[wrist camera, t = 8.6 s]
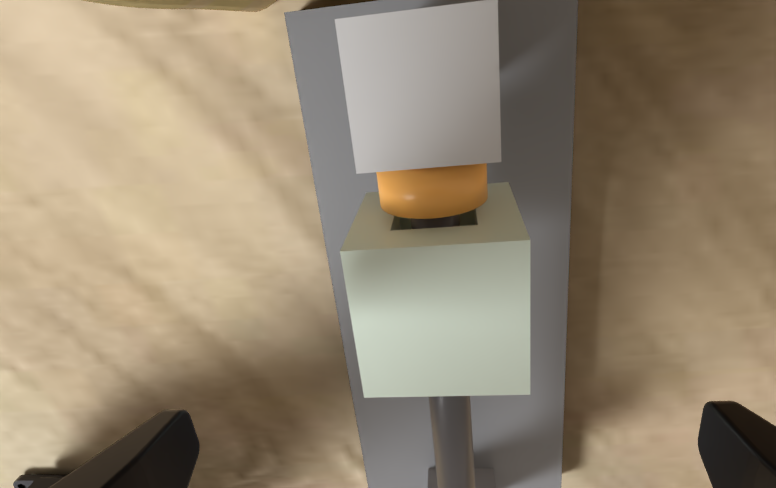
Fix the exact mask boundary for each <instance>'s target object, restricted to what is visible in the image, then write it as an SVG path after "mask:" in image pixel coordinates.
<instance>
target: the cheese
mask: <svg viewBox="0 0 776 488" xmlns="http://www.w3.org/2000/svg"><path fill="white" fill-rule="evenodd" d="M83 1H89V2H95V3H102V4H109V5H117V6H126V7H137V8H155V9H210V10H229V11H247V12H257V11H261V10H263V9H265V8H267V7H269V6H270V5H271V4H273V3H274V2H275V1H277V0H83Z"/></svg>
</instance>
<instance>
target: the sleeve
mask: <svg viewBox="0 0 776 488" xmlns="http://www.w3.org/2000/svg"><path fill="white" fill-rule="evenodd" d="M487 189H488V198H487V200H486V202H485V203H484V204H483V205H481V206H479V207H478V208H476V209H474V210H471V211H469V212H465V213H462V214H459V218H460V226H454V227H439V228H423V229H412V227H411V218H403V217H397V216H394V215H391V214H388V213H386V212H385V211H383V210H382V208H381V206H380V198H379V192H369V193H366V194H365V197H364V199H363V201H362V203H361V206H360V208H359V210H358V212H357V214H356V217H355V219H354V221H353V223H352V226H351V228H350V230H349V232H348V234H347V237H346V239H345V241H344V243H343V246H342V248H341V250H340V255H341V261H342V267H343V273H344V279H345V285H346V291H347V297H348V303H349V310H350V316H351V322H352V328H353V334H354V340H355V346H356V352H357V358H358V364H359V370H360V376H361V382H362V388H363V394H364V398H376V397H432V396H488V395H530V238H529V235H528V232H527V230H526V227H525V224H524V222H523V219H522V217H521V214H520V211H519V209H518V206H517V203H516V201H515V198H514V196H513V193H512V190H511V188H510V185H509V182H501V183H488V184H487Z"/></svg>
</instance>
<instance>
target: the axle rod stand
mask: <svg viewBox="0 0 776 488" xmlns="http://www.w3.org/2000/svg"><path fill="white" fill-rule="evenodd" d="M284 14H285V20H286V26H287V31H288V37H289V43H290V48H291V54H292V60H293V65H294V71H295V76H296V82H297V88H298V93H299V99H300V105H301V110H302V116H303V122H304V127H305V133H306V138H307V144H308V150H309V155H310V161H311V167H312V172H313V178H314V184H315V189H316V195H317V200H318V206H319V212H320V217H321V223H322V229H323V234H324V240H325V246H326V251H327V257H328V262H329V268H330V274H331V279H332V285H333V291H334V296H335V302H336V308H337V313H338V319H339V324H340V330H341V336H342V341H343V347H344V353H345V358H346V364H347V370H348V375H349V381H350V386H351V392H352V398H353V403H354V409H355V415H356V420H357V426H358V432H359V437H360V443H361V448H362V454H363V460H364V465H365V471H366V477H367V482H368V488H561V479H562V450H563V422H564V393H565V365H566V336H567V307H568V279H569V250H570V221H571V193H572V164H573V135H574V107H575V78H576V50H577V21H578V0H378V1H370V2H362V3H355V4H347V5H339V6H332V7H324V8H316V9H308V10H301V11H293V12H285V13H284ZM501 182H509V185H510V188H511V190H512V193H513V196H514V198H515V201H516V203H517V206H518V209H519V211H520V214H521V217H522V219H523V222H524V224H525V227H526V230H527V232H528V235H529V238H530V395H488V396H432V397H376V398H364V394H363V388H362V382H361V376H360V370H359V364H358V358H357V352H356V346H355V340H354V334H353V328H352V322H351V316H350V310H349V303H348V297H347V291H346V285H345V279H344V273H343V267H342V261H341V255H340V250H341V248H342V246H343V243H344V241H345V239H346V237H347V234H348V232H349V230H350V228H351V226H352V223H353V221H354V219H355V217H356V214H357V212H358V210H359V208H360V206H361V203H362V201H363V199H364V197H365V194H366V193H369V192H379V198H380V206H381V208H382V210H383V211H385V212H386V213H388V214H391V215H394V216H397V217H403V218H411V227H412V229H423V228H439V227H454V226H460V218H459V214H462V213H465V212H469V211H471V210H474V209H476V208H478V207H479V206H481V205H483V204H484V203H485V202H486V200H487V198H488V189H487V184H488V183H501Z"/></svg>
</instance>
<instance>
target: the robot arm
mask: <svg viewBox="0 0 776 488" xmlns="http://www.w3.org/2000/svg"><path fill="white" fill-rule="evenodd" d="M698 448H699V452H700V455H701V458H702V461H703V463H704V466H705V468H706V471H707V474H708V476H709V479H710V481H711V484H712V487H713V488H776V426H774V425H773V424H771V423H770V422H768V421H766V420H765V419H763V418H762V417H760V416H758V415H757V414H755V413H754V412H752V411H750V410H749V409H747V408H745V407H744V406H742V405H741V404H739V403H737V402H734V401H710V402H707V403H706V404H705V406H704V408H703V413H702V419H701V424H700V430H699V436H698ZM198 454H199V440H198V437H197V434H196V432H195V429H194V426H193V423H192V420H191V417H190V415H189V413H188V412H187V411H186V410H184V409H167V410H163V411H161V412H160V413H158V414H157V415H155V416H154V417H152V418H151V419H149V420H148V421H146V422H145V423H143V424H142V425H140V426H139V427H138V428H136V429H135V430H133V431H132V432H130V433H129V434H127V435H126V436H124V437H123V438H121V439H120V440H118V441H117V442H115V443H114V444H112V445H111V446H109V447H108V448H107V449H105V450H104V451H102V452H101V453H99V454H98V455H96V456H95V457H93V458H92V459H90V460H89V461H87V462H86V463H84V464H83V465H81V466H80V467H79V468H77V469H76V470H74V471H73V472H71V473H70V474H68V475H21V476H19V477H18V478H17V480H16V481H15V482H14V483H13V485H14V488H188V485H189V482H190V479H191V476H192V473H193V470H194V467H195V464H196V461H197V458H198Z"/></svg>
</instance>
